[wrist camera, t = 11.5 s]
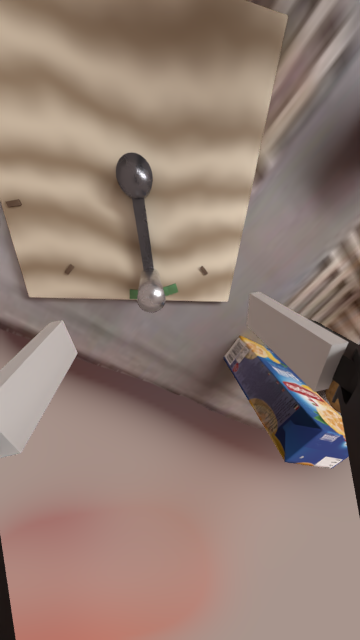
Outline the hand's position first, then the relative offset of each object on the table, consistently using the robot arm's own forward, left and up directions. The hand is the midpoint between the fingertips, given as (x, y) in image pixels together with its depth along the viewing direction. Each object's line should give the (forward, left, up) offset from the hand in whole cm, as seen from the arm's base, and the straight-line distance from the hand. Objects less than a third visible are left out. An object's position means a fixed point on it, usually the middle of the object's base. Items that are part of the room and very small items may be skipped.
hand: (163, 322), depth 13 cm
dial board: (-12, -3, -21) cm, 24 cm away
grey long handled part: (-6, -2, -19) cm, 20 cm away
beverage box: (+19, +23, -21) cm, 37 cm away
